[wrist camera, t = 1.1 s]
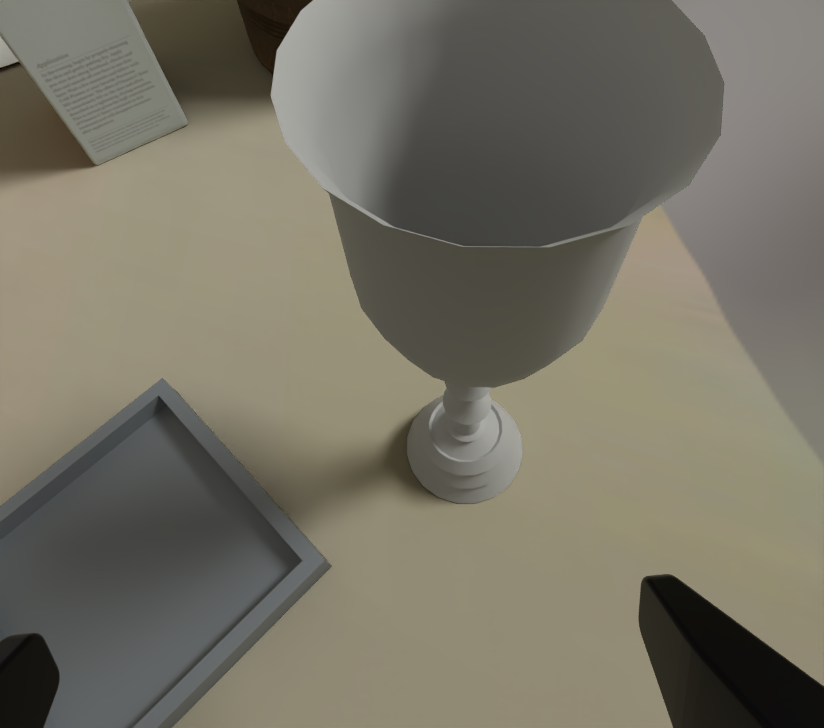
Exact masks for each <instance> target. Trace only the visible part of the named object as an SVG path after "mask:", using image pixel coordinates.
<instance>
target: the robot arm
mask: <svg viewBox="0 0 824 728" xmlns="http://www.w3.org/2000/svg"><path fill="white" fill-rule="evenodd" d="M639 627H640V631H641V635H642V638H643V641H644V644H645V647H646V650H647V652H648V655H649V658H650V661H651V664H652V667H653V670H654V673H655V676H656V679H657V682H658V684H659V687H660V690H661V693H662V696H663V699H664V702H665V705H666V708H667V711H668V714H669V717H670V719H671V722H672V725H673V728H824V686H823V685H821V684H820V683H818V682H817V681H816V680H814V679H813V678H812V677H810V676H809V675H808V674H806V673H805V672H804V671H802V670H801V669H800V668H798V667H797V666H795V665H794V664H793V663H791V662H790V661H789V660H787V659H786V658H785V657H783V656H782V655H781V654H779V653H778V652H777V651H775V650H774V649H772V648H771V647H770V646H768V645H767V644H766V643H764V642H763V641H762V640H760V639H759V638H758V637H756V636H755V635H754V634H752V633H751V632H750V631H748V630H747V629H745V628H744V627H743V626H741V625H740V624H739V623H737V622H736V621H735V620H733V619H732V618H731V617H729V616H728V615H727V614H725V613H724V612H722V611H721V610H720V609H718V608H717V607H716V606H714V605H713V604H712V603H710V602H709V601H708V600H706V599H705V598H704V597H702V596H701V595H699V594H698V593H697V592H695V591H694V590H693V589H691V588H690V587H689V586H687V585H686V584H685V583H683V582H682V581H681V580H679V579H678V578H676V577H675V576H673V575H670V574H664V575H653V576H646V577H644V578H643V580H642V582H641V591H640V604H639ZM59 681H60V673H59V669H58V666H57V664H56V662H55V660H54V658H53V656H52V654H51V652H50V650H49V647H48V645H47V643H46V641H45V639H44V638H43V636H41V635H40V634H38V633H26V634H16V635H11V636H8V637H6V638H5V639H3V640H2V641H0V728H44V725H45V723H46V720H47V717H48V715H49V712H50V709H51V706H52V704H53V701H54V698H55V695H56V693H57V690H58V686H59Z"/></svg>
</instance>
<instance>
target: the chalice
mask: <svg viewBox="0 0 824 728" xmlns="http://www.w3.org/2000/svg"><path fill="white" fill-rule="evenodd" d="M723 93H724V81H723V79H722V76H721V74H720V71H719V69H718V67H717V65H716V62H715V59H714V57H713V55H712V52H711V50H710V47H709V45H708V43H707V40H706V38H705V36H704V35H703V33H702V32H701V31H700V30H699V29H698V28H697V27H696V26H695V25H694V24H693V23H692V22H691V21H690V20H689V18H687V16H686V15H685V14H684V13H683V12H682V11H681V10H680V9H679V8H678V7H677V6H676V5H675V4H674V2H673V1H672V0H313V1H312V2H311V3H309V4H308V5H307V6H306V7H305V8H303V9H302V10H301V11H300V13H299V15H298V16H297V18H296V20H295V21H294V23H293V25H292V26H291V28H290V30H289V31H288V33H287V34H286V36H285V38H284V39H283V41H282V43H281V44H280V46H279V48H278V49H277V53H276V60H275V67H274V75H273V82H272V89H271V99H272V102H273V105H274V108H275V112H276V115H277V118H278V121H279V124H280V128H281V131H282V134H283V137H284V141H285V143H286V145H287V146H288V147H289V148H290V149H291V151H292V152H293V153H294V154H295V155H296V157H297V158H298V159H299V160H300V161H301V163H302V164H303V165H304V166H305V167H306V169H307V170H308V171H309V172H310V173H311V175H312V176H313V177H314V178H315V179H316V181H317V182H318V183H319V184H320V185H321V187H322V188H323V189H324V190H326V191H327V192H328V193H329V195H330V199H331V203H332V207H333V210H334V214H335V218H336V222H337V226H338V229H339V233H340V237H341V241H342V245H343V248H344V252H345V256H346V260H347V264H348V267H349V271H350V275H351V278H352V281H353V284H354V287H355V290H356V293H357V296H358V299H359V302H360V305H361V308H362V310H363V311H364V312H365V314H366V315H367V316H368V317H369V319H370V320H371V321H372V323H373V324H374V325H375V327H376V328H377V329H378V330H379V332H380V333H381V334H382V336H383V337H384V338H385V339H386V340H387V341H388V342H389V343H390V344H391V345H392V346H393V347H395V348H396V349H397V350H398V351H399V352H400V353H401V354H402V355H403V356H404V357H406V358H407V359H408V360H409V361H410V362H412V363H413V364H415V365H416V366H418V367H419V368H420V369H422V370H423V371H425V372H426V373H428V374H429V375H431V376H432V377H434V378H437V379H440V380H443V381H445V384H446V387H447V389H446V390H445V392H444V395H443V396H441V397H439V398H437V399H435V400H434V401H432V402H431V403H430V404H428V405H427V406H425V407H424V408H423V409H422V410H421V411H420V413H419V414H418V415H417V416H416V418H415V419H414V420H413V422H412V425H411V428H410V430H409V433H408V436H407V457H408V460H409V463H410V466H411V469H412V472H413V473H414V475H415V476H416V477H417V479H418V480H419V481H420V483H421V484H422V486H423V487H425V488H426V489H428V490H429V491H430V492H432V493H433V494H434V495H436V496H437V497H439V498H442V499H445V500H448V501H451V502H454V503H478V502H481V501H484V500H487V499H490V498H493V497H495V496H496V495H497V494H499V493H500V492H501V491H503V490H504V489H505V488H507V487H508V486H509V484H510V483H511V482H512V480H513V479H514V477H515V476H516V474H517V473H518V470H519V467H520V463H521V459H522V455H523V452H522V439H521V435H520V433H519V430H518V428H517V426H516V423H515V421H514V420H513V418H512V417H511V416H510V415H509V414H508V413H507V411H506V410H505V409H504V408H503V407H502V406H500V405H499V404H497V403H496V402H495V401H494V400H492V399H491V397H490V395H489V391H490V389H491V388H495V387H498V386H501V385H505V384H508V383H512V382H515V381H518V380H522V379H525V378H526V377H528V376H530V375H532V374H533V373H535V372H537V371H539V370H540V369H542V368H544V367H546V366H547V365H549V364H551V363H552V362H553V361H555V360H556V359H557V358H559V357H560V356H562V355H563V354H564V353H566V352H567V351H569V350H570V349H571V348H573V347H574V346H576V345H577V344H578V343H580V342H581V341H582V340H583V339H584V337H585V336H586V334H587V332H588V331H589V329H590V328H591V326H592V325H593V323H594V321H595V320H596V318H597V317H598V315H599V314H600V312H601V310H602V309H603V306H604V304H605V302H606V300H607V297H608V295H609V293H610V290H611V288H612V286H613V284H614V281H615V279H616V277H617V274H618V272H619V270H620V267H621V265H622V263H623V261H624V258H625V256H626V254H627V251H628V249H629V247H630V244H631V242H632V240H633V238H634V235H635V233H636V231H637V228H638V226H639V224H640V222H641V219H642V217H643V216H644V215H646V214H647V213H649V212H650V211H652V210H653V209H655V208H656V207H658V206H659V205H661V204H662V203H663V202H665V201H666V200H668V199H669V198H671V197H672V196H674V195H675V194H677V193H678V192H680V191H681V190H683V189H684V188H686V187H687V186H689V184H690V183H691V181H692V180H693V178H694V177H695V175H696V173H697V172H698V170H699V168H700V167H701V165H702V164H703V162H704V161H705V159H706V157H707V155H708V154H709V153H710V151H711V149H712V148H713V146H714V145H715V143H716V141H717V140H718V138H719V137H720V135H721V123H722V108H723Z"/></svg>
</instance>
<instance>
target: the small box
mask: <svg viewBox="0 0 824 728" xmlns="http://www.w3.org/2000/svg"><path fill="white" fill-rule="evenodd" d="M0 37H1V38H2V39H3V41H4V42H5V43H6V45H7V46H8V47H9V49H10V50H11V51H12V53H13V54H14V56H15V57H16V58H17V60H18V61H19V62H20V64H21V65H22V67H23V68H24V69H25V71H26V72H27V73H28V75H29V76H30V77H31V79H32V80H33V81H34V83H35V84H36V85H37V87H38V88H39V89H40V91H41V92H42V94H43V95H44V96H45V98H46V99H47V100H48V102H49V103H50V105H51V106H52V108H53V109H54V110H55V112H56V113H57V114H58V116H59V117H60V119H61V120H62V121H63V123H64V124H65V125H66V127H67V128H68V130H69V131H70V132H71V134H72V135H73V136H74V138H75V139H76V140H77V142H78V143H79V145H80V146H81V147H82V149H83V150H84V152H85V153H86V154H87V156H88V157H89V158H90V160H91V161H92V162H93V164H96V165H100V164H102V163H104V162H106V161H108V160H111V159H113V158H115V157H117V156H119V155H122V154H124V153H126V152H128V151H130V150H132V149H135V148H137V147H140V146H142V145H144V144H146V143H148V142H151V141H153V140H156V139H158V138H160V137H162V136H164V135H167V134H169V133H171V132H173V131H175V130H177V129H180V128H182V127H184V126H186V125H187V124H188V121H187V119H186V117H185V115H184V113H183V111H182V109H181V107H180V105H179V103H178V101H177V99H176V97H175V95H174V93H173V91H172V89H171V87H170V85H169V83H168V81H167V79H166V77H165V75H164V73H163V71H162V69H161V67H160V65H159V63H158V61H157V59H156V57H155V55H154V53H153V51H152V49H151V47H150V45H149V43H148V41H147V39H146V37H145V35H144V33H143V31H142V29H141V27H140V25H139V22H138V20H137V18H136V17H135V15H134V13H133V11H132V9H131V7H130V5H129V3H128V1H127V0H0Z"/></svg>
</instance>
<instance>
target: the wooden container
mask: <svg viewBox="0 0 824 728" xmlns="http://www.w3.org/2000/svg"><path fill="white" fill-rule="evenodd" d="M237 1H238V5H239V8H240V11H241V15H242V18H243V21H244V24H245V27H246V30H247V33H248V36H249V39H250V42H251V44H252V47H253V50H254V52H255V54H256V56H257V57H258V59H259V60H260V61H261V62H262V63H263V64H264V65H265V66H266V67H267V68H268V69H269V70H270V71H271V72H273V73H274V67H275V60H276V53H277V49H278V48H279V46H280V44H281V43H282V41H283V39H284V38H285V36H286V34H287V33H288V31H289V30H290V28H291V26H292V25H293V23H294V21H295V20H296V18H297V16H298V15H299V13H300V11H301V10H302V9H303V8H305V7H306V6H307V5H308V4H309V3H311V2H312V1H313V0H237Z"/></svg>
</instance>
